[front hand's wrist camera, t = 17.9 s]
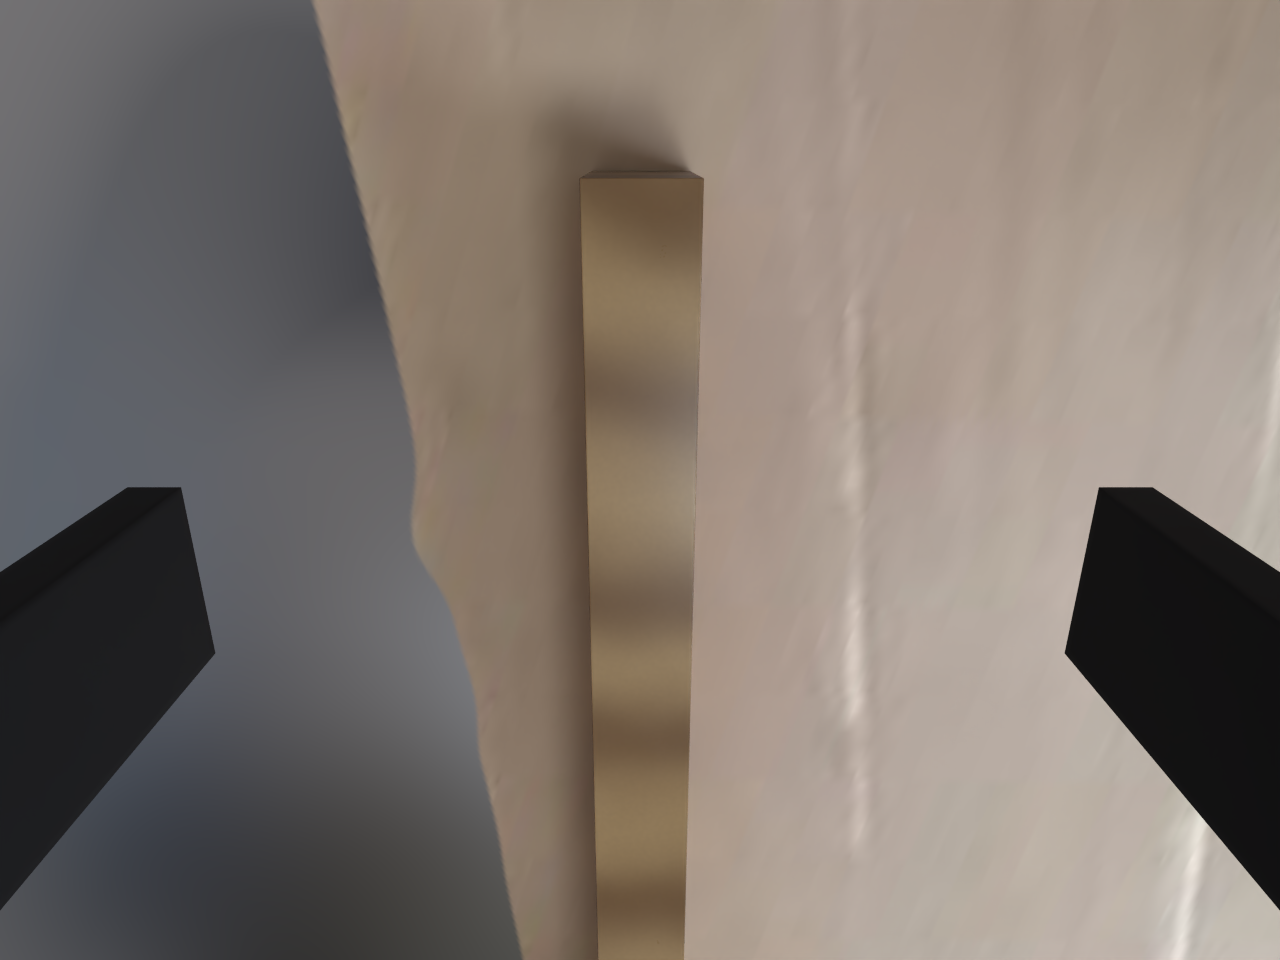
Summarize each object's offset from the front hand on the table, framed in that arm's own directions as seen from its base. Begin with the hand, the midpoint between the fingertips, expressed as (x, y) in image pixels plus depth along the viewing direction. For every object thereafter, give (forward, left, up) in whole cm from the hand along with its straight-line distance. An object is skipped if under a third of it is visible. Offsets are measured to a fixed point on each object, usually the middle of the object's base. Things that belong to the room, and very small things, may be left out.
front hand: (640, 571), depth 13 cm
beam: (+30, +6, -30) cm, 43 cm away
